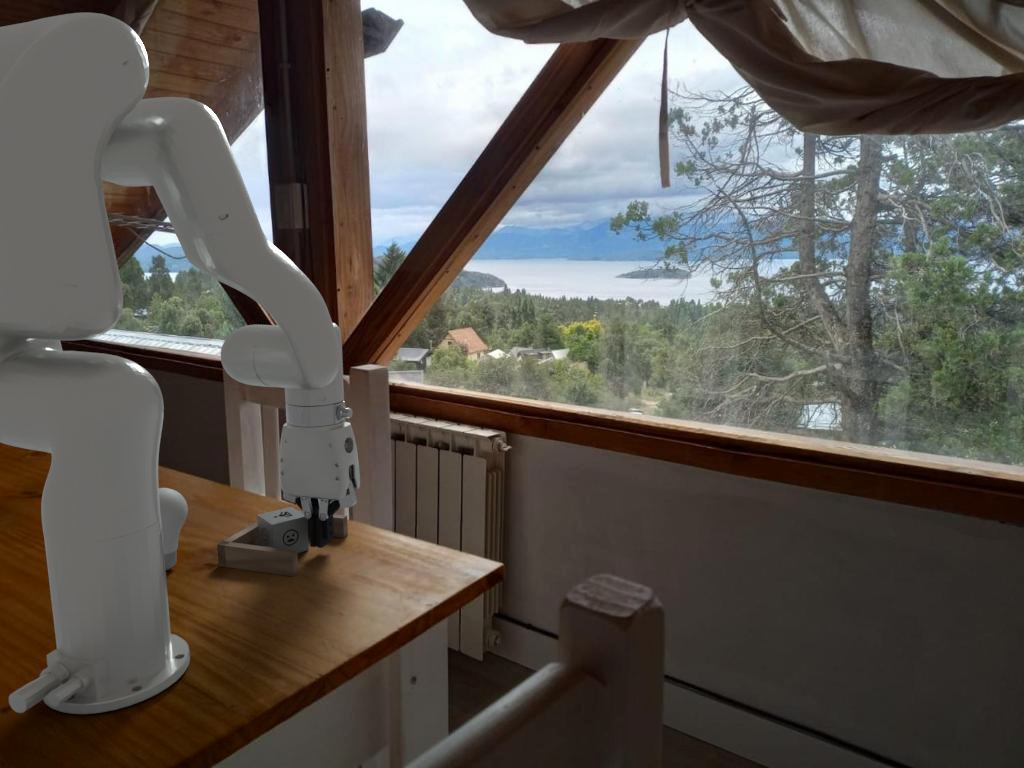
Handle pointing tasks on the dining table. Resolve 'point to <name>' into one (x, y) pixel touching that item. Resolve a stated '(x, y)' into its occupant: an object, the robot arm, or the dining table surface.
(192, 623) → the dining table surface
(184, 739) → the dining table surface
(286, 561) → the box
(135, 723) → the dining table surface
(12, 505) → the dining table surface
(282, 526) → the dice cube
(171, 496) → the lightbulb
